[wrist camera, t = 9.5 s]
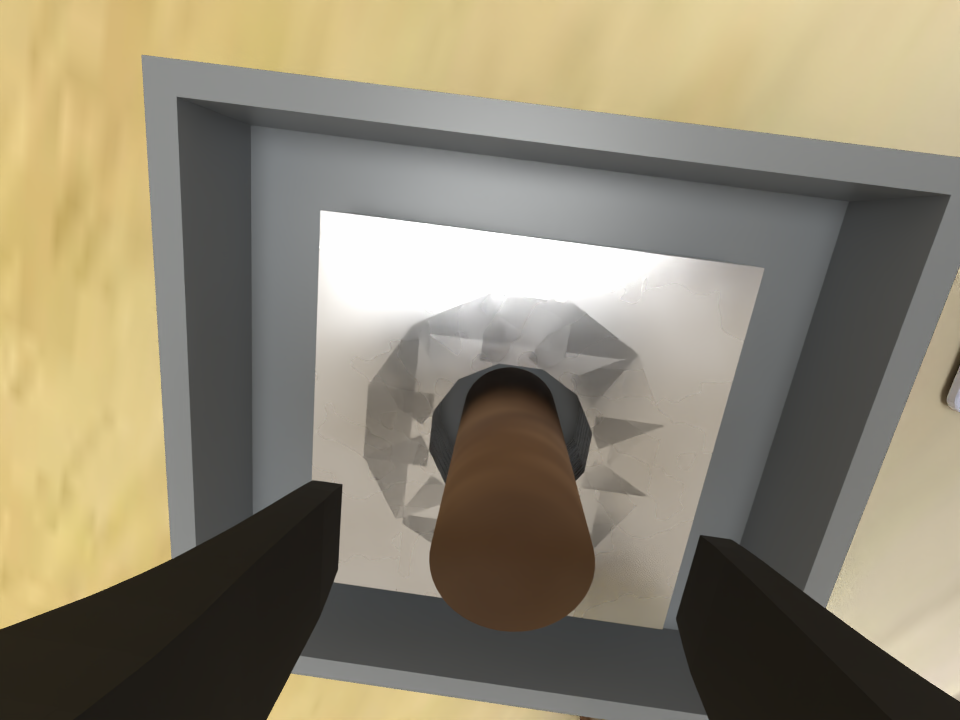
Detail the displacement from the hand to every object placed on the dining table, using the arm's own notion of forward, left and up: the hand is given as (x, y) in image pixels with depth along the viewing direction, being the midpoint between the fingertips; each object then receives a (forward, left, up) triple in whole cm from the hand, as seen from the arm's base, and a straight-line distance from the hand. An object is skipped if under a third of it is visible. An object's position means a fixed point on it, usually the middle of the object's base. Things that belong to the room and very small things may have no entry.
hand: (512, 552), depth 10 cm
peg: (0, 0, -8) cm, 8 cm away
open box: (0, 0, -9) cm, 9 cm away
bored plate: (0, 0, -9) cm, 9 cm away
